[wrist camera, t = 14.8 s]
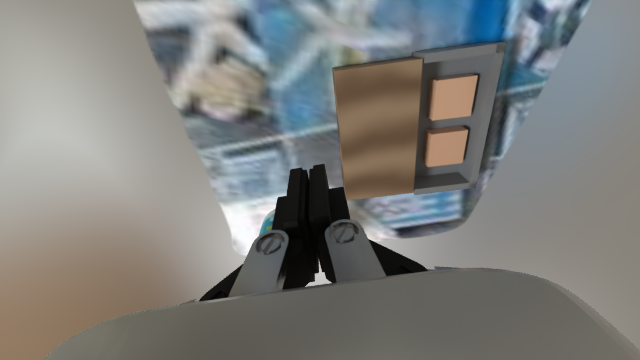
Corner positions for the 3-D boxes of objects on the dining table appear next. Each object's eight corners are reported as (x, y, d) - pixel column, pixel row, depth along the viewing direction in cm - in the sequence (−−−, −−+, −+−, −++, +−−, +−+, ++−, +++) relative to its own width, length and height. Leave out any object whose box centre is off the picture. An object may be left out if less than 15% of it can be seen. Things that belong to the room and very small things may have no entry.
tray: (412, 52, 31) (424, 53, 28) (484, 42, 31) (506, 42, 28) (405, 181, 41) (414, 195, 37) (461, 174, 40) (475, 187, 37)
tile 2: (477, 75, 30) (468, 73, 32) (436, 80, 31) (429, 78, 32) (470, 115, 33) (462, 112, 35) (432, 120, 33) (426, 116, 35)
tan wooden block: (332, 67, 32) (334, 71, 28) (410, 56, 32) (422, 58, 28) (343, 186, 41) (346, 200, 37) (404, 179, 40) (413, 192, 37)
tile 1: (468, 130, 34) (460, 125, 36) (431, 134, 34) (425, 130, 36) (462, 163, 36) (455, 157, 38) (427, 167, 36) (422, 161, 38)
